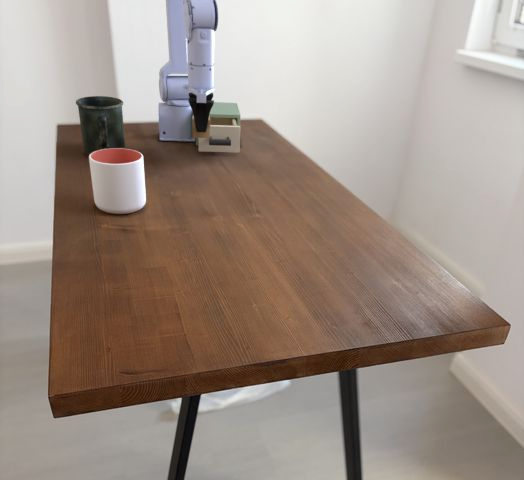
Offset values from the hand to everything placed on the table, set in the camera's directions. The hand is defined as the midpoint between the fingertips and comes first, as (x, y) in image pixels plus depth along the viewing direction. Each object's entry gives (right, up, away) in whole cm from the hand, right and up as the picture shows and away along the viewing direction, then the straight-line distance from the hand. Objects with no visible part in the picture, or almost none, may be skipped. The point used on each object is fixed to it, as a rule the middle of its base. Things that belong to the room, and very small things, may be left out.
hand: (201, 129), depth 127 cm
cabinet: (+2, +7, +25) cm, 26 cm away
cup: (-14, -23, -18) cm, 32 cm away
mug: (-25, -4, +8) cm, 26 cm away
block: (0, -1, +1) cm, 1 cm away
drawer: (+3, +1, +15) cm, 16 cm away
